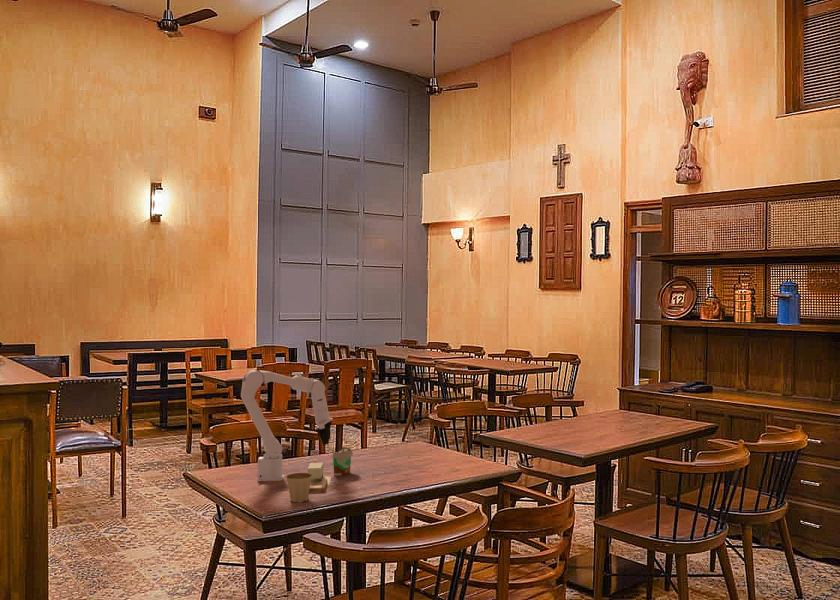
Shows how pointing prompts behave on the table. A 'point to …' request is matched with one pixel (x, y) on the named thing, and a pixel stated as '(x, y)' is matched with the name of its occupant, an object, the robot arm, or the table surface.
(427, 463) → the table surface
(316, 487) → the dock board
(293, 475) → the flower pot
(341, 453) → the food container
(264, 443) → the robot arm
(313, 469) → the cream rectangular block
